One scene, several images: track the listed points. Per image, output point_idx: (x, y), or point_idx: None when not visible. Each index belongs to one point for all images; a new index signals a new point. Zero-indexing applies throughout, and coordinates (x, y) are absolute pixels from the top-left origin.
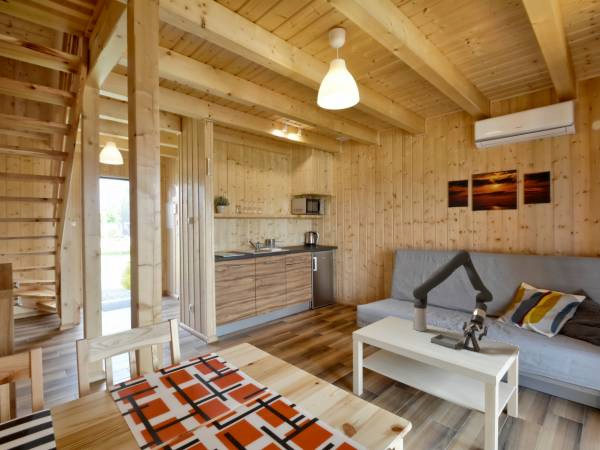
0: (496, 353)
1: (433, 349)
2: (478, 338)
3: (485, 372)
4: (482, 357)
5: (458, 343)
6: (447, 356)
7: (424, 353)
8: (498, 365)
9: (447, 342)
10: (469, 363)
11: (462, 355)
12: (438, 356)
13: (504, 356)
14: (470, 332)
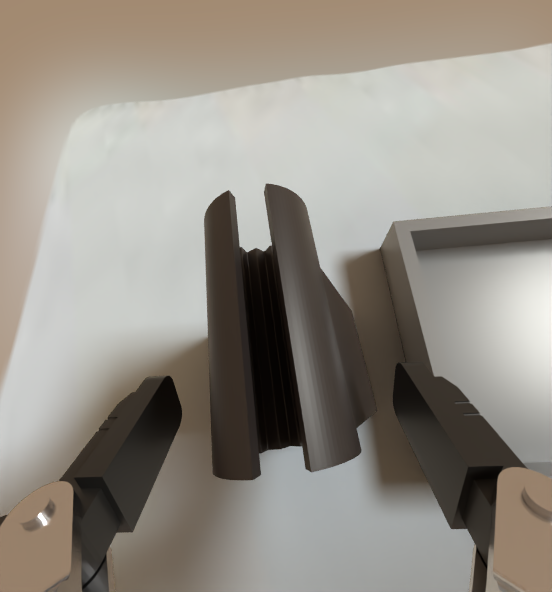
0: None
1: (469, 134)
2: (158, 377)
3: (110, 111)
4: (160, 267)
5: (412, 315)
6: (332, 118)
7: (444, 61)
8: (55, 226)
9: (481, 221)
10: (199, 133)
11: None
12: (365, 85)
13: (6, 441)
14: (228, 194)
